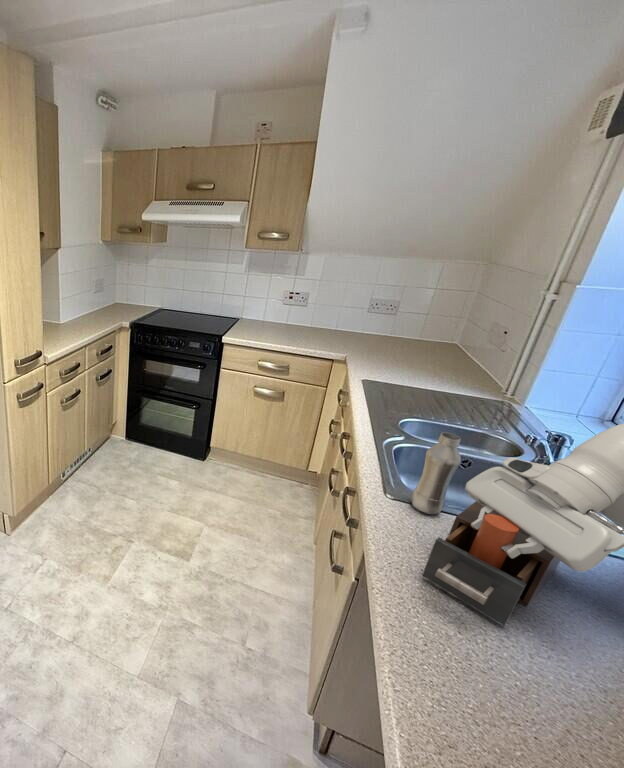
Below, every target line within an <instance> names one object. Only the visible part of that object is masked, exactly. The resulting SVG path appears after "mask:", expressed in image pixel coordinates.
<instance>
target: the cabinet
mask: <svg viewBox="0 0 624 768" xmlns="http://www.w3.org/2000/svg"><path fill="white" fill-rule="evenodd" d="M483 507H484V506H483V505H481V504H480V503H478V502H477V501H474V502H473V503H472V504H471V505H469V506H468V507H467V508H465V509H464V510H463V511H461V512H460V513H458V514H457V515H456V516H455V519H454V521H453V524H452V526H451V529H450V531H449V534H448V536H449V535H450V534H452V533H453V532H454V531H455V530H457V529H458V528H459V527H460V526H462V525H463V524H465V525H467V526H469V527H472V526H471V523H473V522H474V521H476V520H477V519H478V517H479V514H480V511H481V509H482V508H483ZM526 539H528V537H526V536H525V535H523V534H522V533H521V532H519V531H518V533H517V535H516V537H515V539H514V542H513V545H517V544H524V543H527V542H526ZM527 555H529V556H531V557H533V558H535V559H537V560H539V561H541V562H542V563H541V565H540V567H539V569H538V570H537V572H536V574H535V576H534V578H533V580H532V582H531V584H530V585H529V586H528V587H527V589H526V590H525V591H524V592H523V594H522V595H521V596H520V598H519V600H518V602H517V603H519V604H520V605H522V606H523V607H526V608H527V607H528V606H529V605H530V604H531V602H532V601H533V600H534V599H535V597H536V596H537V595H538V594H539V592H540V591H541V590H542V589H543V587H544V586H545V584H546V583H547V582H548V580H549V579H550V578H551V577H552V575H553V574H554V573H555V571H556V570H557V568H558V566H559V564H560V563H561V561H560V560H559V559H557V558H556V557H554V556H553V555H552V554H550V553H549V552H547V551H546V550H545V549H544V550H542V551H540V552H539V553H529V554H527Z"/></svg>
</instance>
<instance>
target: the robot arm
mask: <svg viewBox="0 0 624 768" xmlns="http://www.w3.org/2000/svg"><path fill="white" fill-rule="evenodd" d="M464 489H465V491H466V493H467V494H468V495H469V497H470V498H471V499H473V500H474V502H476V501H477V502H478V503H480V504H481V505H483V506H484V507H483V508H482V509H481V511H480V514H479V517H478V519H477V520H476V521H474V522H473V523H471V526H472V528H473V529H475V530H476V531H477V532H478V530H479V528H480V525H481V523H482V521H483V518H484V516H485V515H487V514H495V515H499V516H502V517H505V518H506V519H508V520H509V521H511V522H512V523H513V524H515V525H516V526H518V527H519V532H521V533H522V534H523V535H525V536H526V537H528V539H526V542H527V543H524V544H517V545H513V544H512V543H510V542H509V543H507V544H506V545H503V546H502V547H501V550H502V551H503V552H504V553H505V554H506V555H508V556H509V557H510V558H515V557H517V556H518V555H520V554H521V553H522V554H529V553H539V552H540V551H542V550H544V549H545V550H546V551H547V552H549V553H550V554H552V555H553V556H554V557H556V558H557V559H559V560H560V562H561V563H563V564H564V565H565V566H567V567H569V568H570V569H571V570H573V571H575V572H588V571H590V570H591V569H593V568H595V567H596V566H597V565H599V564H600V563H601V562H602V561H604V560H605V559H606V558H607V557H608V556H609V555H610V554H611V553H613V552H617V551H620V550H622V549H623V548H624V422H623V423H619V424H617V425H614V426H611V427H609V428H607V429H605V430H603V431H600V432H599V433H597V434H595V435H594V436H592V437H590V438H589V439H587V440H585V441H583V442H582V443H581V444H579V445H578V446H576V447H575V448H574V449H572V451H571V452H570V454H568V455H567V456H566V457H564V458H562V459H559V460H555V461H553V462H551V463H550V464H549V465H546V464H541V463H538V462H537V463H536V462H532V461H528V460H524V459H520V458H517V457H507V458H506V459H504V460H502V466H493V467H490V468H488V469H486V470H484V471H482V472H480V473H479V474H477V475H475V476H474V477H473V478H471V479H470V480H468V481H467V482H466V484H465V487H464Z"/></svg>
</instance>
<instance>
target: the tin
mask: <svg viewBox="0 0 624 768" xmlns="http://www.w3.org/2000/svg"><path fill="white" fill-rule="evenodd" d="M518 531H519V527H518V526H516V525H515V524H513V523H512V522H511V521H509V520H508V519H506V518H505V517H502V516H499V515H495V514H487V515H485V516H484V518H483V521H482V523H481V525H480V528H479V530H478V532H477V535H476V537H475V539H474V542H473V544H472V546H471V549H470V551H469V554H471V555H473V556H475V557H477V558H479V559H480V560H482V561H484V562H486V563H488V564H490V565H492V566H494V567H496V568H497V569H499V570H500V569H501V567H502V565H503V563H504V561H505V558H506V556H507V555H506V554H505V553H504V552H503V551H502V550H501V547H502V546H503V545H506V544H507V543H509V542H510V543H512V544H513V542H514V539H515V537H516V535H517V533H518Z"/></svg>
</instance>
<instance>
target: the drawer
mask: <svg viewBox="0 0 624 768" xmlns="http://www.w3.org/2000/svg"><path fill="white" fill-rule="evenodd" d="M476 535H477V531H476V530H475V529H473V528H472V527H469V526H467V525H465V524H463V525H462V526H460V527H459V528H458V529H457V530H455V531H454V532H453V533H452V534H450V535H449V534H448V536H447V537H446V538H445V539H443V538H441V537H437V538H436V539H435V541H434V544H433V546H432V549H431V551H430V553H429V556H428V560H427V562H426V565H425V567H424V570H423V573H422V575H421V576H422V577H424V578H425V579H426V580H428V581H430V582H432V583H433V584H434V585H436V586H438V587H440V588H441V589H443V590H445V591H446V592H448V593H450V594H451V595H453V596H454V597H456V598H458V599H459V600H461V601H463V602H464V603H466V604H468V605H469V606H470V607H473V608H474V609H476V610H478V611H479V612H480V613H482V614H484V615H485V616H487V617H489V618H490V619H492V620H494V621H495V622H497V623H498V624H499V625H502V626H503V627H504V626H506V624H507V623H508V621H509V619H510V617H511V616H512V614H513V612H514V610H515V607H516V605H517V603H518V600H519V598H520V596H521V595H522V594H523V592H524V591H525V590H526V589H527V587H528V586H529V585H530V584H531V582H532V580H533V578H534V576H535V574H536V572H537V570H538V569H539V567H540V565H541V563H542V562H541V561H539V560H537V559H535V558H533V557H531V556H529V555H527V554H522V553H521V554H520V555H518V556H517V557H515V558H510V557H509V556H508V555H507V556H506V558H505V561H504V563H503V565H502V567H501V569H500V570H499V569H497V568H496V567H494V566H492V565H490V564H488V563H486V562H484V561H482V560H480V559H479V558H477V557H475V556H473V555H471V554H469V551H470V549H471V546H472V544H473V542H474V539H475V537H476Z"/></svg>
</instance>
